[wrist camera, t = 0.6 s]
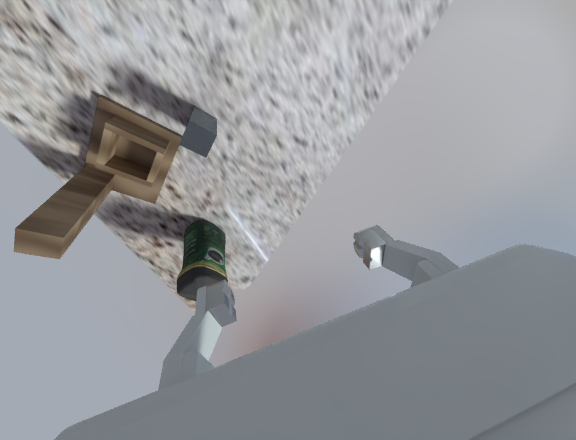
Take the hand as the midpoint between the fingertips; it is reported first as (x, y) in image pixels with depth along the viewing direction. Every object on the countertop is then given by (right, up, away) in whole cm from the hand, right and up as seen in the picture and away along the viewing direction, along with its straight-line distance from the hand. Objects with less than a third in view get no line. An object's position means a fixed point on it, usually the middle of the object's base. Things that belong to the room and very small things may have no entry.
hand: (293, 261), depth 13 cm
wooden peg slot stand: (-29, +14, +26) cm, 42 cm away
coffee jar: (-22, -1, +42) cm, 47 cm away
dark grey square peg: (-16, +21, +26) cm, 37 cm away
